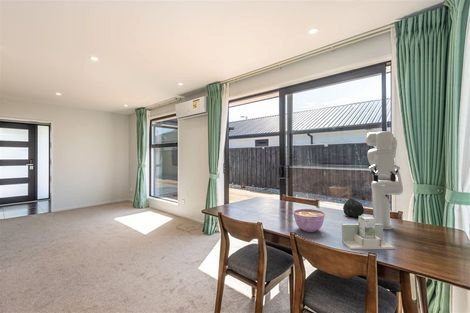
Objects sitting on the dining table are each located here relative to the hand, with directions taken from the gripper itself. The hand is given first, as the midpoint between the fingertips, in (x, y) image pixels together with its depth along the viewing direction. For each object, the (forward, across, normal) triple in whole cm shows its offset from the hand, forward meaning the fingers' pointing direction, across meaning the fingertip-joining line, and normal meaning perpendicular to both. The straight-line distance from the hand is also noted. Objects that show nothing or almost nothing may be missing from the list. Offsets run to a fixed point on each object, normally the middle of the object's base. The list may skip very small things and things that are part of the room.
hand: (384, 181), depth 131 cm
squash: (+34, -4, -46) cm, 57 cm away
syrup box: (+32, +16, +10) cm, 37 cm away
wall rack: (+33, +16, +10) cm, 38 cm away
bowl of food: (+34, +40, -15) cm, 54 cm away
